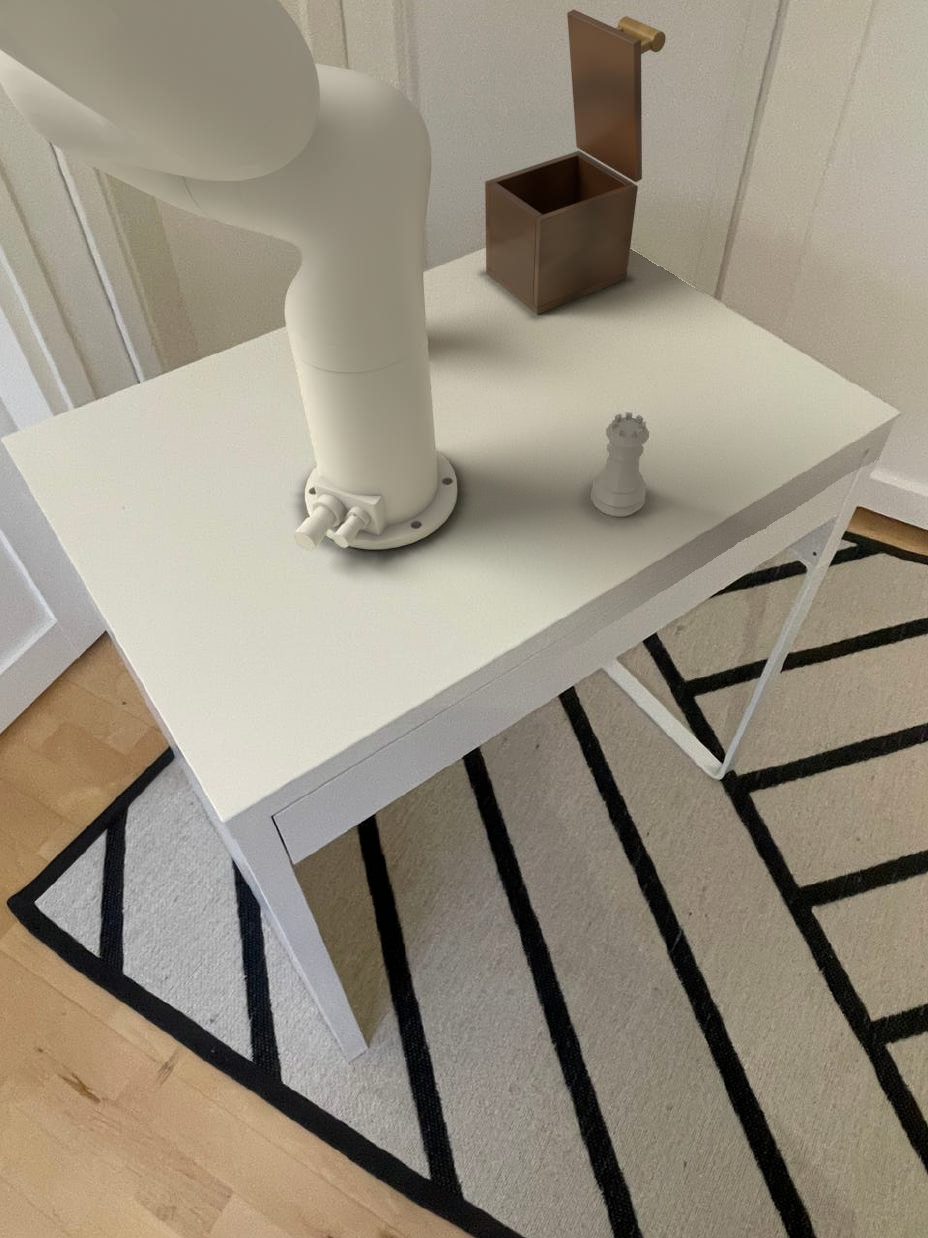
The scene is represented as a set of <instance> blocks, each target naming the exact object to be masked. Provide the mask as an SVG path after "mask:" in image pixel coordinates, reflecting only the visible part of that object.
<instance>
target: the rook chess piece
mask: <svg viewBox="0 0 928 1238" xmlns="http://www.w3.org/2000/svg"><path fill="white" fill-rule="evenodd" d="M605 436H606V437H607V439H608V443H607V444H606V451H607V452H608V456H607V459H606V463H605V465H604V468H602V469H601V471H600V472H599V473H598V474H597V476H596V477H595V479H594V480H593V482H592V489H591V491H590V499H591V501H592V503H593V505H594V506H595V507H596V509H598V510H599V511H600V512H602V513H603V514H605V515H608V516H611V517H616V518H617V517H618V518H624V517H627V516H631V515H633V514H634V513H636V512H638V511H639V510H641V509H642V507H643V506H644V504H645V503H646V494H647V485H646V481H645V480H644V479H643V475H642V473H641V471H640V459H641V456H642V455H643V454H644V446H643V445H644V444H646V443H647V441H648V440H649V438H650V430H648V427H647V421H644V417H643V416H641V415H640V414H637V416H636V417H633V412H630V411H629V412H628V411H627V412H625V417H623V415H622V414H621V413H618V414H617V415H615V416H614V419H612V421H611V422H610V423H609V424H608V426H607V428H606V429H605Z"/></svg>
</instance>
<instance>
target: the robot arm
mask: <svg viewBox="0 0 928 1238" xmlns="http://www.w3.org/2000/svg"><path fill="white" fill-rule="evenodd" d="M0 85H1V87H2V89H3V91H4V93H5V94H6V96H7V97H8V99H9V101H10V102H11V103H12V105H13V106H14V107H15V109H16V110H17V112H18V113H19V114H20V116H22V117H23V119H24V120H25V121H26V122H27V123H28V124H29V126H30V127H32V129H34V130H35V131H36V132H37V133H38V134H39V135H40V136H41V137H43V138H44V139H45V140H46V141H48V142H49V143H51V144H52V145H53V146H55V147H56V148H58V149H59V150H61V151H63V152H65V154H68V155H70V156H72V157H73V158H75V159H78V160H79V161H81V162H83V163H85V164H87V165H89V166H91V167H93V168H95V169H98V170H99V171H101V172H103V173H106V174H107V175H109V176H111V177H113V178H115V179H117V180H119V181H121V182H123V183H125V184H127V185H129V186H131V187H133V188H135V189H137V190H140V191H141V192H143V193H146V194H147V195H149V196H152V197H154V198H156V199H158V200H160V201H162V202H164V203H166V204H169V205H171V206H173V207H175V208H177V209H178V210H179V209H180V210H181V211H184V212H186V213H189V214H191V215H194V216H197V217H200V218H203V219H206V220H208V221H209V220H210V221H214V222H217V223H221V224H224V225H228V226H231V227H235V228H239V229H243V230H246V231H250V232H255V233H258V234H262V235H266V236H269V237H271V238H273V239H277V240H281V241H284V242H287V243H289V244H292V245H293V246H294V247H295V248H297V249H298V251H299V253H300V256H301V263H300V266H299V269H298V271H297V273H296V274H295V276H294V278H293V279H292V280H291V282H290V284H289V287H288V288H287V292H286V295H285V299H284V300H285V301H284V320H285V327H286V332H287V336H288V341H289V345H290V349H291V354H292V358H293V362H294V366H295V371H296V376H297V380H298V385H299V389H300V394H301V399H302V403H303V407H304V412H305V417H306V422H307V426H308V430H309V431H308V432H309V435H310V440H311V444H312V448H313V453H314V458H315V463H316V466H315V467H314V469H313V470H312V471H311V473H310V475H309V477H308V478H307V481H306V485H305V488H304V501H305V506H306V510H307V513H308V517H306V518H305V520H304V521H303V522H302V523H301V525H299V527H298V528H297V530H295V532H294V533H293V535H292V537H293V540H294V542H295V543H296V544H297V546H299V547H300V548H301V549H302V550H305V551H309V552H313V551H314V550H315V549H316V548H317V547H318V546H319V545H320V543H321V542H322V541H323V540H324V538H325V537H327V538H329V539H331V540H332V541H333V542H334V543H335V544H336V545H337V546H339V547H340V548H343V549H347V548H348V547H351V548H356V549H363V550H388V549H395V548H399V547H403V546H406V545H407V546H408V545H410V544H413V543H415V542H417V541H418V542H419V540H422V539H424V538H426V537H428V536H430V535H431V534H432V533H434V532H436V531H437V530H438V529H439V528H440V527H441V526H442V525H443V524H444V523H446V521H447V520H448V518H449V517H450V516H451V514H452V513H453V511H454V508H455V506H456V503H457V499H458V479H457V476H456V472H455V469H454V467H453V466H452V464H451V463H450V461H449V460H448V459H447V458H446V457H445V455H443V454H442V453H441V452H439V450H437V449H436V448H437V447H436V435H435V421H434V406H433V394H432V393H433V392H432V378H431V368H430V367H431V365H430V353H429V352H430V351H429V350H430V349H429V339H428V328H427V315H426V301H425V281H424V252H425V251H424V250H425V233H426V223H427V222H426V221H427V213H428V212H427V211H428V205H429V204H428V203H429V196H430V187H431V178H432V163H433V162H432V144H431V138H430V134H429V133H430V132H429V130H428V127H427V125H426V122H425V120H424V118H423V116H422V114H421V112H420V111H419V109H418V107H417V106H416V105H415V103H414V102H413V101H412V100H411V99H410V98H409V97H408V96H407V95H405V94H404V93H403V92H402V91H401V90H399V89H398V88H396V87H395V86H393V85H392V84H390V83H388V82H386V81H385V80H382V79H380V78H377V77H375V76H372V75H370V74H367V73H364V72H360V71H358V70H354V69H350V68H343V67H338V66H332V65H327V64H322V63H316V62H315V60H314V57H313V54H312V51H311V49H310V47H309V45H308V43H307V41H306V40H305V37H304V35H303V33H302V31H301V29H300V28H299V26H298V24H297V23H296V21H295V20H294V19H293V17H292V16H291V14H290V13H289V11H287V9H286V8H285V6H284V5H283V4H282V3H281V1H280V0H0Z"/></svg>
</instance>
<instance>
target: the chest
mask: <svg viewBox="0 0 928 1238" xmlns="http://www.w3.org/2000/svg"><path fill="white" fill-rule="evenodd" d="M638 188H639V186H638V185H637V184H635V182H633V181H632V180H630V179H628V178H627V177H625V176H623V175H622V174H620V173H618V172H617V171H615V170H612V168H610V167H608V166H607V165H605V164H602V162H600V161H598V160H597V159H595V158H593V157H592V156H590V155H588V154H587V153H585V152H583V151H581V150H577V151H573V152H570V153H567V154H564V155H561V156H557V157H555V158H552V159H549V160H546V161H543V162H540V163H536V164H534V165H530V166H528V167H525V168H523V169H522V168H521V169H519V170H515V171H513V172H510V173H507V174H504V175H501V176H497V177H494V178H492V179H491V178H490V179H489V180H485V182H484V193H485V194H484V197H485V198H484V201H485V203H484V205H485V273H486V275H487V276H489V278H491V279H492V280H494V281H495V282H496V283H497V284H499V285H500V286H501V287H502V288H503V289H505V290H506V291H507V292H508V293H510V294H511V295H512V296H514V298H516V299H517V300H518V301H520V302H521V303H522V304H523V305H525V306H526V307H527V308H528V309H530V310H531V311H532V312H533V313H535V314H536V315H539V314H542V313H545V312H547V311H550V310H552V309H555V308H558V307H560V306H563V305H565V304H568V303H570V302H573V301H575V300H577V299H580V298H583V297H585V296H588V295H591V294H593V293H595V292H598V291H600V290H603V289H605V288H608V287H610V286H613V285H615V284H618V283H621V282H622V281H625V280H627V277H628V268H629V261H630V253H631V246H632V238H633V228H634V222H635V214H636V207H637V206H636V205H637V197H638V190H639V189H638Z"/></svg>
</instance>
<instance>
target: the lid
mask: <svg viewBox="0 0 928 1238" xmlns="http://www.w3.org/2000/svg"><path fill="white" fill-rule="evenodd" d="M566 14H567V15H566V16H567V17H566V18H567V30H568V31H567V32H568V45H569V58H570V60H569V61H570V73H571V87H572V101H573V116H574V130H575V143H576V148H577V149H579V151H581V152H583V153H585V154H586V155H588V156H590V157H591V158H593V159H595V160H596V161H598V162H600V163H601V164H602V163H603V165H605V166H606V167H608V168H610V169H611V170H612V169H613V171H615V172H616V173H618V174H620V175H621V176H623V177H625V178H626V179H628V180H630V181H631V182H633V183H638V182H640V181H642V179H643V141H642V140H643V129H642V128H643V124H642V122H643V120H642V119H643V118H642V114H643V112H642V111H643V109H642V108H643V107H642V55H643V54H645V53H647V52H648V51H651V52H653V53H658V52H660V51H662V49H663V48H664V46H665V44H666V40H667V39H666V38H667V36H666V34H665V32H664V31H662V30H660V29H658V28H655V27H652V26H650V25H647V24H646V23H643V22H641V21H639V20H637V19H634V18H632V17H630V16H623V17H621V19H620V20H619V21H618V22H617V26H616V27H614V26H613V25H609V24H607V23H605V22H603V21H601V20H598V19H596V18H595V17H592V16H589V15H588V14H585V13H583V12H581V11H578V10H577V9H572V10H569V11H567V13H566Z"/></svg>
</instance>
